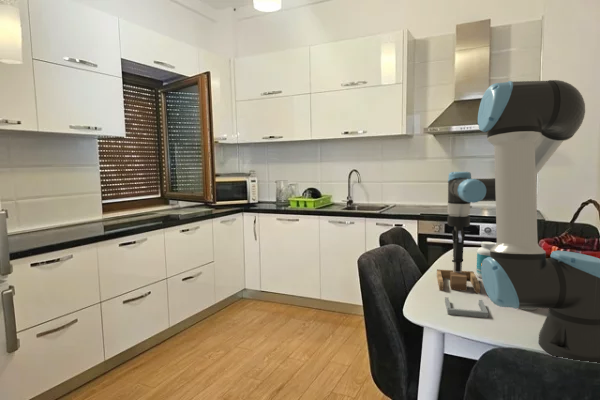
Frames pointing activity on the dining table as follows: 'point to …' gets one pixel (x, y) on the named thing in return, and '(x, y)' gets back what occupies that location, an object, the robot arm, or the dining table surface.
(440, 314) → the dining table surface
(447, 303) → the grey u-shaped bracket
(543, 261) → the robot arm
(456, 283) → the cube
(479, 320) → the dining table surface
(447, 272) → the brown u-shaped frame
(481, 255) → the pill bottle
